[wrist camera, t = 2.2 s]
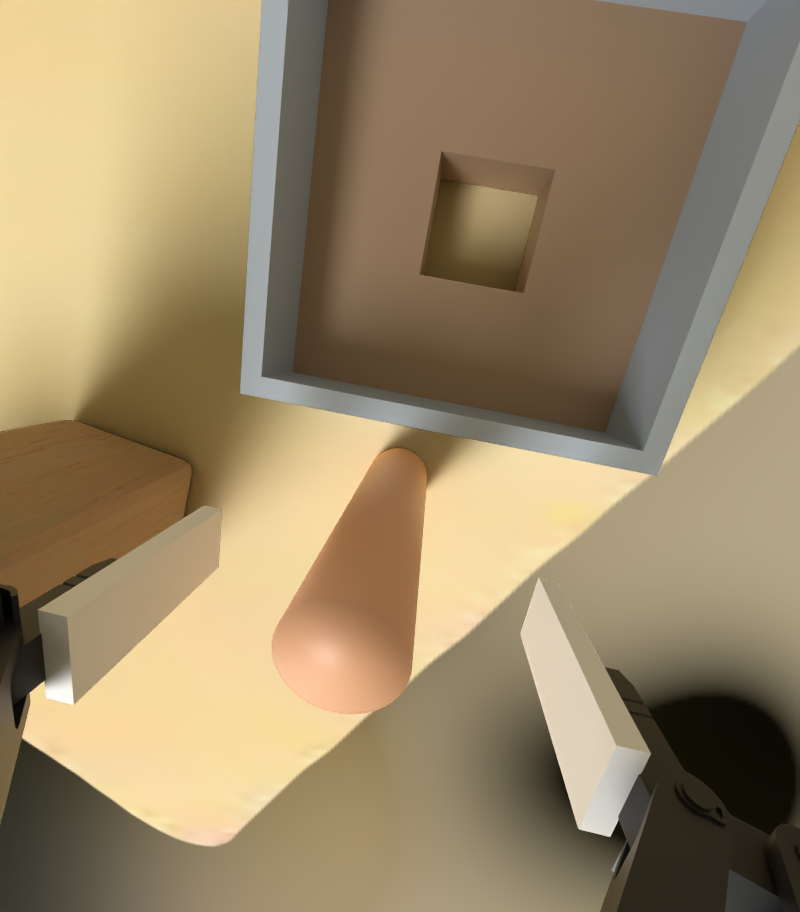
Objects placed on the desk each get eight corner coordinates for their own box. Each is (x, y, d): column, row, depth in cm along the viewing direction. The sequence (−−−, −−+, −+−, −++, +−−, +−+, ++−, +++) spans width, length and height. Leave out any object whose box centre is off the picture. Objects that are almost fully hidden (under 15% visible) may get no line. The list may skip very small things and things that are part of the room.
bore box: (331, -7, 19) (273, -203, 12) (727, 51, 18) (898, -126, 11) (293, 382, 25) (239, 393, 18) (595, 441, 24) (657, 475, 17)
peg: (374, 442, 25) (278, 582, 10) (432, 454, 25) (425, 615, 10) (365, 496, 26) (266, 697, 11) (420, 507, 26) (397, 727, 11)
